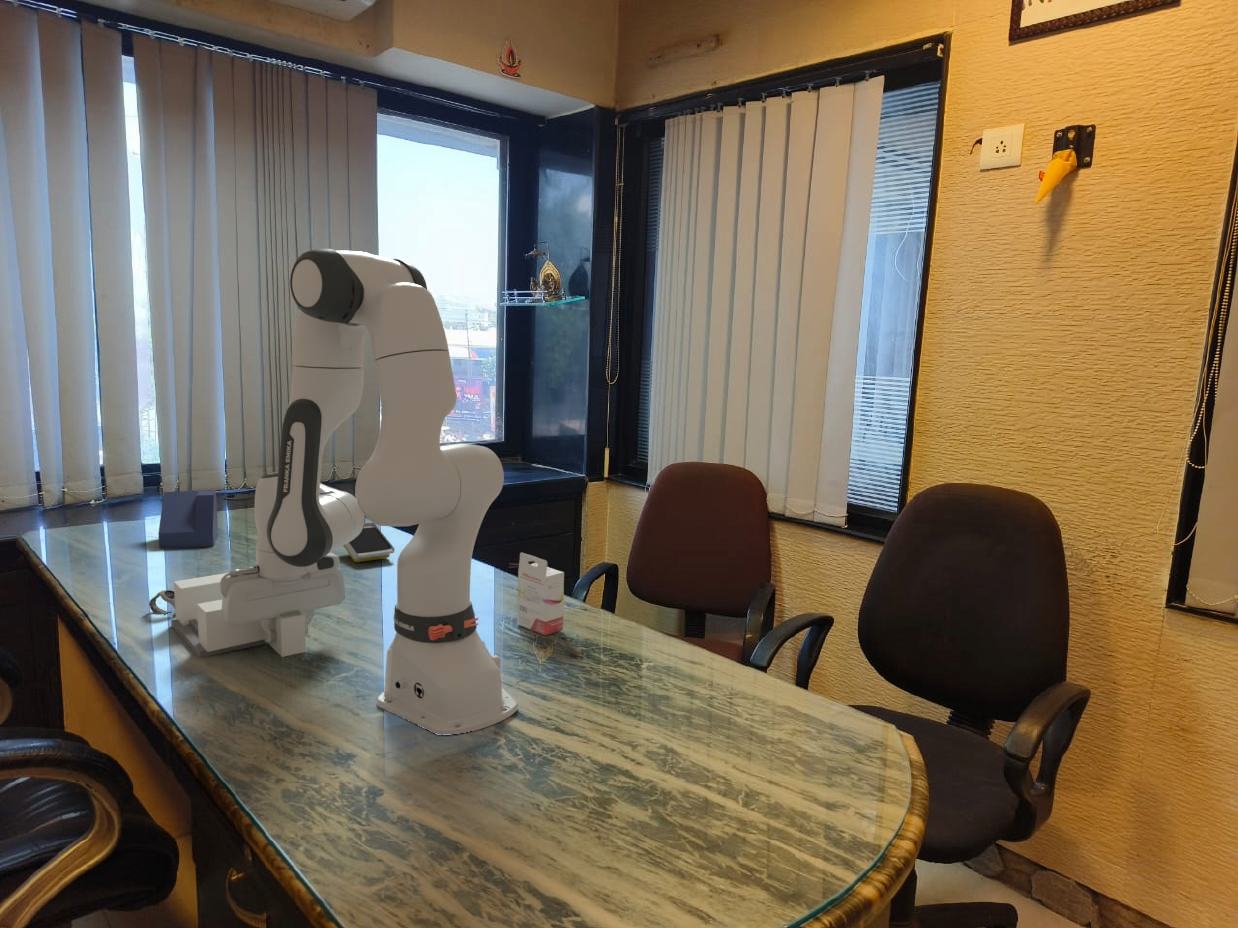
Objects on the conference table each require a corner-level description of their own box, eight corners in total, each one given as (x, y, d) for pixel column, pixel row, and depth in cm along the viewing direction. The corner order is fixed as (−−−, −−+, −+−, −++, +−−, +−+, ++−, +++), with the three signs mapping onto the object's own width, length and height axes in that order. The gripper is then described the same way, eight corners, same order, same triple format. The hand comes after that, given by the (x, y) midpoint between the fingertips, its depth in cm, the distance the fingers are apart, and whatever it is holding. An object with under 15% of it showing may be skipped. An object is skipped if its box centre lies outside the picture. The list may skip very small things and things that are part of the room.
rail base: (275, 644, 141) (273, 599, 139) (201, 661, 132) (199, 613, 131) (238, 612, 155) (236, 571, 154) (170, 626, 147) (167, 582, 146)
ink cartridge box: (564, 630, 153) (566, 557, 151) (545, 636, 150) (547, 561, 147) (535, 618, 159) (536, 547, 156) (515, 624, 155) (517, 551, 153)
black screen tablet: (336, 541, 199) (357, 571, 189) (337, 526, 198) (358, 555, 187) (372, 537, 205) (394, 565, 195) (373, 522, 204) (396, 550, 193)
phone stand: (159, 549, 195) (156, 501, 193) (166, 536, 206) (164, 491, 204) (213, 546, 200) (211, 499, 198) (218, 534, 211) (216, 490, 209)
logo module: (305, 652, 138) (304, 612, 137) (282, 658, 135) (280, 617, 134) (291, 640, 143) (290, 601, 142) (268, 645, 140) (267, 606, 139)
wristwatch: (173, 619, 150) (172, 594, 150) (145, 616, 152) (144, 591, 151) (187, 613, 154) (185, 589, 153) (159, 610, 155) (158, 585, 154)
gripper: (225, 577, 127) (229, 657, 129) (348, 556, 141) (349, 630, 143) (213, 567, 132) (217, 645, 134) (333, 548, 145) (335, 620, 148)
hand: (286, 637), depth 139 cm, fingers closed on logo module, 4 cm apart
